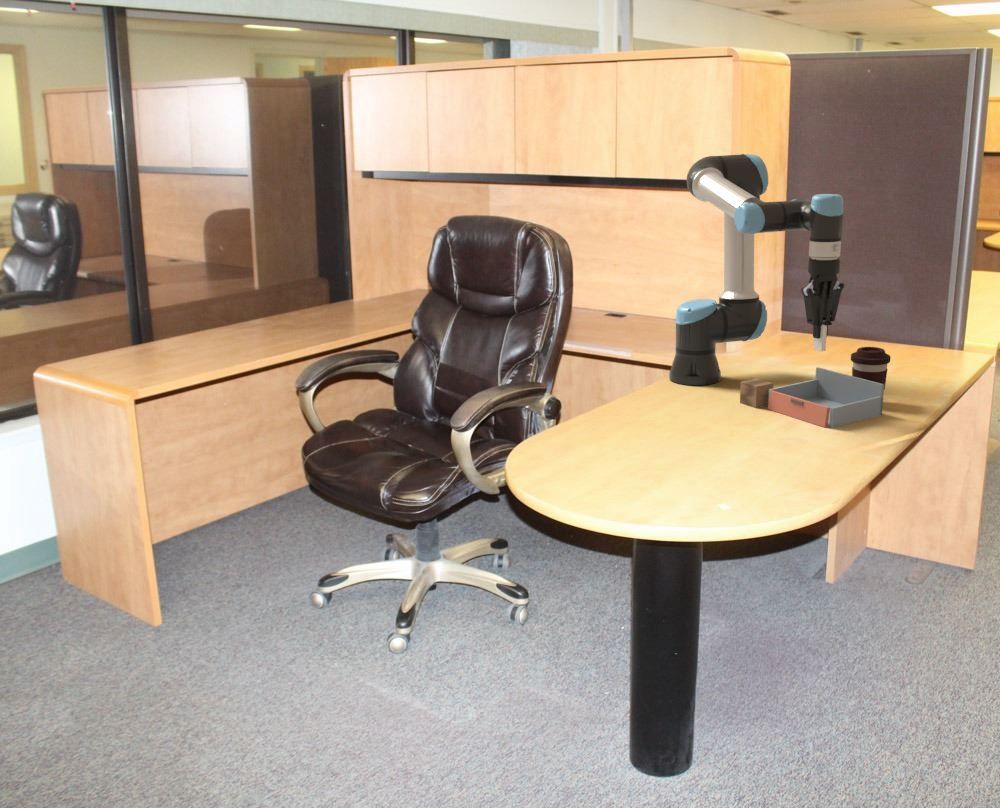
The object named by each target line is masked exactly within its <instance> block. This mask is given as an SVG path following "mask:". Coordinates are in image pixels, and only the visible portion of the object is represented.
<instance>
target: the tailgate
mask: <svg viewBox="0 0 1000 808" xmlns="http://www.w3.org/2000/svg"><path fill="white" fill-rule="evenodd" d="M767 410H769V411H773V412H775V413H779V414H782V415H785V416H789V417H791V418H795V419H797V420H801V421H804V422H807V423H810V424H813V425H817V426H819V427H822V428H828V427H827V426H828V419H829V411H830V407H827V406H823V405H820V404H817V403H813V402H810V401H806V400H803V399H800V398H796V397H793V396H790V395H786V394H783V393H780V392H776V391H773V390H772V391H770V394H769V403H768V405H767Z"/></svg>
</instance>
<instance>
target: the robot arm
mask: <svg viewBox="0 0 1000 808" xmlns="http://www.w3.org/2000/svg"><path fill="white" fill-rule="evenodd" d="M686 186H687V189H688V191H689V193H690V195H692V196H693V197H695V199H697V200H699V201H701V202H706V203H707V202H709V203H710V204H712V205H713V206H714V207H716V208H717V209H718V210H720V211H722V212H723V222H724V223H723V228H724V229H723V230H724V231H723V234H724V236H723V244H724V245H723V254H724V255H723V256H724V257H723V271H724V272H723V278H724V280H723V281H724V282H723V284H724V285H723V288H724V290H723V291H722V293H721V294H720V295H719V296H718V303H717V301H716V300H715V299H712V298H703V299H701V298H699V299H692V300H689V301H685V302H683V303H680V305H678V306H677V308H676V315H675V321H674V322H675V354H674V357H673V360H672V365H671V368H670V369H669V374H668V376H669V378H668V379H669V380H670V381H671V382H672V383H676V384H680V385H687V386H688V385H689V386H705V385H707V386H708V385H712V384H716V383H719V382H721V376H722V374H721V373H722V372H721V369H720V366H719V362H718V358H717V355H716V344H721V343H723V344H724V343H732V342H748V341H752V340H757V339H758V338H760V337H761V336H762V334H763V333H764V332H765V330H766V325H767V322H768V310H767V309H766V308H767V305H766V304H765V302H764V301H762V300H760V294H759V293H757V292H756V291H755V234H762V233H775V232H776V233H777V232H788V231H789V232H790V231H791V232H793V231H808V232H809V244H808V245H809V246H808V256H809V259H808V265H807V266H808V267H807V272H808V274H809V275H810V277H809V280H808V284H807V286H806V287H801V289H800V292H801V294H802V295H803V300H804V301H803V302H804V307H805V308H804V309H805V316H806V322H807V324H810V325H811V326H813V327H812V338H813V348H812V349H813V350H814V351H818V352H826V351H827V348H826V347H827V337H828V335H829V333H828V332H829V326H832V324H833V322H835V320H836V318H837V317H836V316H837V311H838V308H839V304H840V299H841V295H842V294H841V293H842V292H843V290H844V287H845V284H844V283H843V282H839V281H838V280H839V279H838V276H837V275H838V274H839V273H840V268H841V259H840V258H839V257H840V256H841V250H842V236H843V235H842V234H843V223H844V221H843V220H844V211H845V210H844V197H843V196H842V195H841V194H838V193H835V194H833V193H819V194H818V193H817V194H814V195H812V197H811V199H807V198H795V199H791V200H784V201H783V200H781V201H780V200H779V201H763V200H761V196H762V195H763V194H765V193H766V191H767V189H768V188H767V187H769V173H768V167H767V166H766V164H765V162H764V161H763V158H761V157H760V156H758V155H757V154H748V153H747V154H745V153H741V154H727V155H726V154H725V155H708V156H705V157H702V158H700V159H698V160H697V161H696V162H695V163H693V164H692V166H690V167H689V170H688V172H687V175H686Z"/></svg>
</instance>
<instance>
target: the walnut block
mask: <svg viewBox="0 0 1000 808" xmlns="http://www.w3.org/2000/svg"><path fill="white" fill-rule="evenodd" d="M772 388H774V382H772V381H767V380H764V379H760V378H758V377H757V378H753V379H752V378H751V379H748V380H744V381H740V388H739V389H740V390H739V391H740V392H739V403H740V404H741V405H745V406H747V407H751V408H754V409H758V408H762V407H768V397H769V389H772Z"/></svg>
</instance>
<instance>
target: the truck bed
mask: <svg viewBox="0 0 1000 808" xmlns="http://www.w3.org/2000/svg"><path fill="white" fill-rule="evenodd" d="M772 390H773V391H776V392H780V393H783V394H786V395H790V396H793V397H796V398H800V399H803V400H806V401H810V402H813V403H817V404H820V405H823V406H827V407H830V411H829V419H828V426H827V427H826V428H831V429H833V428H837V427H841V426H846V425H849V424H853V423H858V422H860V421H865V420H868V419H869V420H870V419H873V418H877V417H880V416H881V417H882V415H883V406H884V405H883V404H884V394H885V393H884V391H885V389H884V384H881V383H877V382H873V381H869V380H865V379H862V378H858V377H854V376H852V375H849V374H847V373H842V372H839V371H834V370H831V369H830V370H829V369H826V368H824V367H823V368H822V367H819V366H817V367H815V379H810V380H804V381H800V382H795V383H791V384H787V385H782V386H779V387H773V388H772V389H769V394H770V391H772ZM768 403H769V397H768Z"/></svg>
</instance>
